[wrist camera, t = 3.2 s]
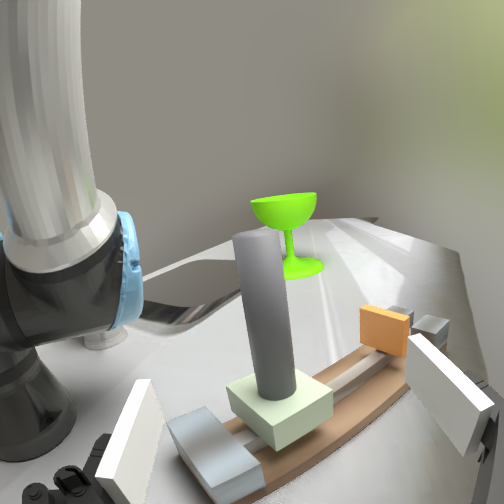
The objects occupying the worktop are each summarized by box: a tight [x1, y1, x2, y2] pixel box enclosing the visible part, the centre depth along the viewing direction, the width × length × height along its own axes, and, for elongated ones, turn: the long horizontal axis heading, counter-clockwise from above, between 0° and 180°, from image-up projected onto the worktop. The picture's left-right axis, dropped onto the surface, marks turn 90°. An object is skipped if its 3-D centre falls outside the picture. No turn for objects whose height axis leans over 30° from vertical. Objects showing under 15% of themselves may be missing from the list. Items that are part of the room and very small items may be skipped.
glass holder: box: [84, 325, 128, 350], centre depth 50 cm, size 9×14×15 cm, turn 31°
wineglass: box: [250, 193, 324, 280], centre depth 79 cm, size 16×16×18 cm
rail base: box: [166, 306, 449, 504], centre depth 30 cm, size 9×32×4 cm, turn 123°
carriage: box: [226, 229, 333, 452], centre depth 24 cm, size 7×6×16 cm
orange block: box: [360, 304, 410, 358], centre depth 34 cm, size 6×5×4 cm
